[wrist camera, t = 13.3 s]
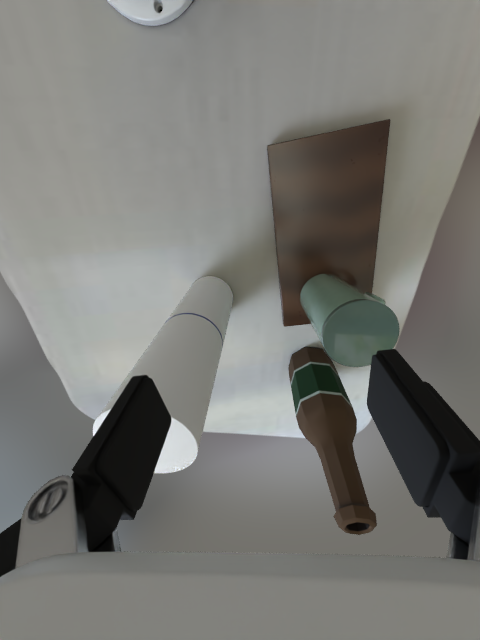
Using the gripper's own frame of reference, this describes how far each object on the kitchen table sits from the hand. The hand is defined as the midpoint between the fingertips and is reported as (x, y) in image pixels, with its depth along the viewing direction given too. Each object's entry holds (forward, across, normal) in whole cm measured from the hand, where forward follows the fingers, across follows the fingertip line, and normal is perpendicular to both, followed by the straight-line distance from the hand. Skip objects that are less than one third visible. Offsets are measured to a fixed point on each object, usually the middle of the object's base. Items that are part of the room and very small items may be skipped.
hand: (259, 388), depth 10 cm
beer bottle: (+27, -6, +22) cm, 35 cm away
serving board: (+27, -9, +1) cm, 28 cm away
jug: (+25, -10, +8) cm, 28 cm away
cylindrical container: (+27, +8, +7) cm, 29 cm away
